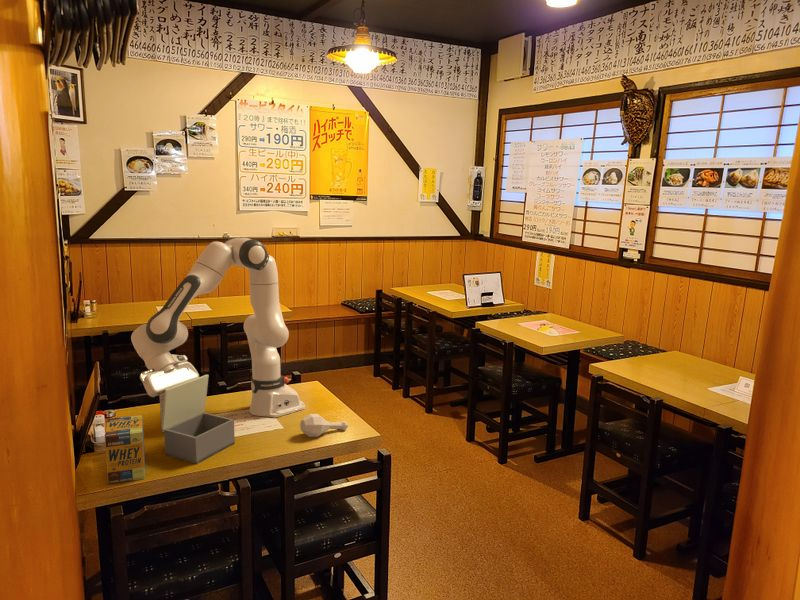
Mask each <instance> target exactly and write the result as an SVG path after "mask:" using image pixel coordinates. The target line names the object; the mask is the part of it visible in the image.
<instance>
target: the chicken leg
mask: <svg viewBox="0 0 800 600" xmlns="http://www.w3.org/2000/svg"><path fill="white" fill-rule="evenodd" d="M299 427H300V431H301V432H303V433H304V435H306V436H307V437H309V438H318V437H320V436H321V435H322V434H324V433H325V432H327V431H328V430H341V431H346V430H347V429H348V427H349V424H348V422H347V421H345V420H343V421H341V422H333V421H332V422H329V421H328V420H326V419H325V418H323V417H322V416H321V415H320V414H318V413H309V414H307V416H305V417H303V418H302V419H301V421H300V424H299Z"/></svg>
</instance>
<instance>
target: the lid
mask: <svg viewBox="0 0 800 600" xmlns="http://www.w3.org/2000/svg"><path fill="white" fill-rule="evenodd" d="M209 377H210V376H209V374H204V375H202V376H199V378H196V379H193V380H191V381H188V382H185V383H182V384H180V385H177V386H174V387H171V388H169V389H166V390H165V396H164V407H163V418H162V426H161V431H162V430H164V429H166V428H169V427H171V426H173V425H175V424H178V423H180V422H182V421H185V420H187V419H190V418H192V417H194V416H197V415H199V414H201V413H206V412H205V411H206V410H205V409H206V403H207V394H208V384H209Z"/></svg>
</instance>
